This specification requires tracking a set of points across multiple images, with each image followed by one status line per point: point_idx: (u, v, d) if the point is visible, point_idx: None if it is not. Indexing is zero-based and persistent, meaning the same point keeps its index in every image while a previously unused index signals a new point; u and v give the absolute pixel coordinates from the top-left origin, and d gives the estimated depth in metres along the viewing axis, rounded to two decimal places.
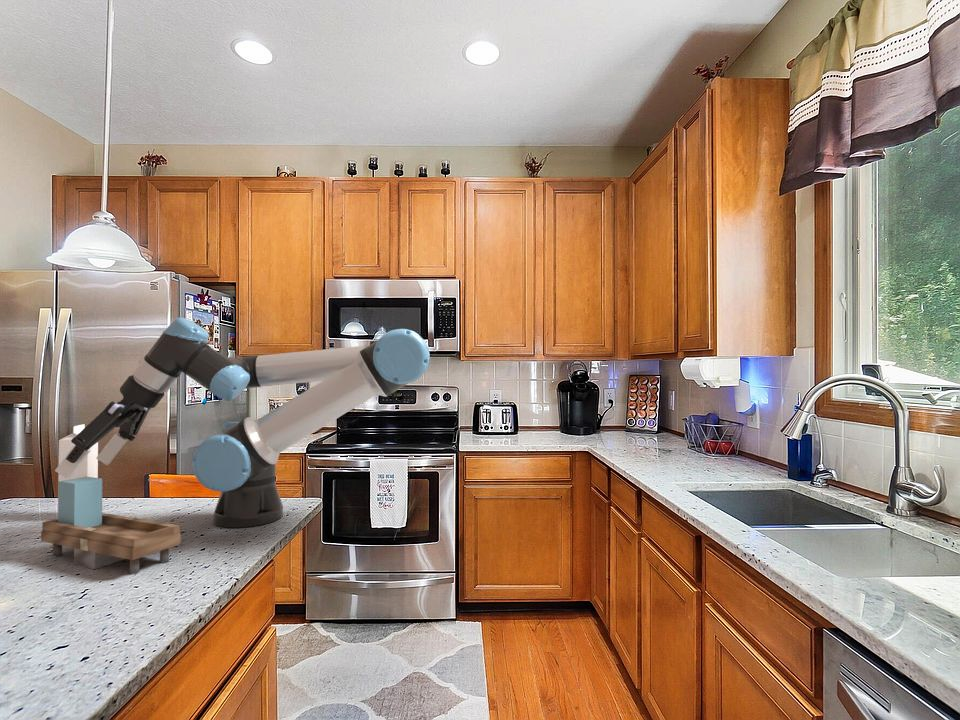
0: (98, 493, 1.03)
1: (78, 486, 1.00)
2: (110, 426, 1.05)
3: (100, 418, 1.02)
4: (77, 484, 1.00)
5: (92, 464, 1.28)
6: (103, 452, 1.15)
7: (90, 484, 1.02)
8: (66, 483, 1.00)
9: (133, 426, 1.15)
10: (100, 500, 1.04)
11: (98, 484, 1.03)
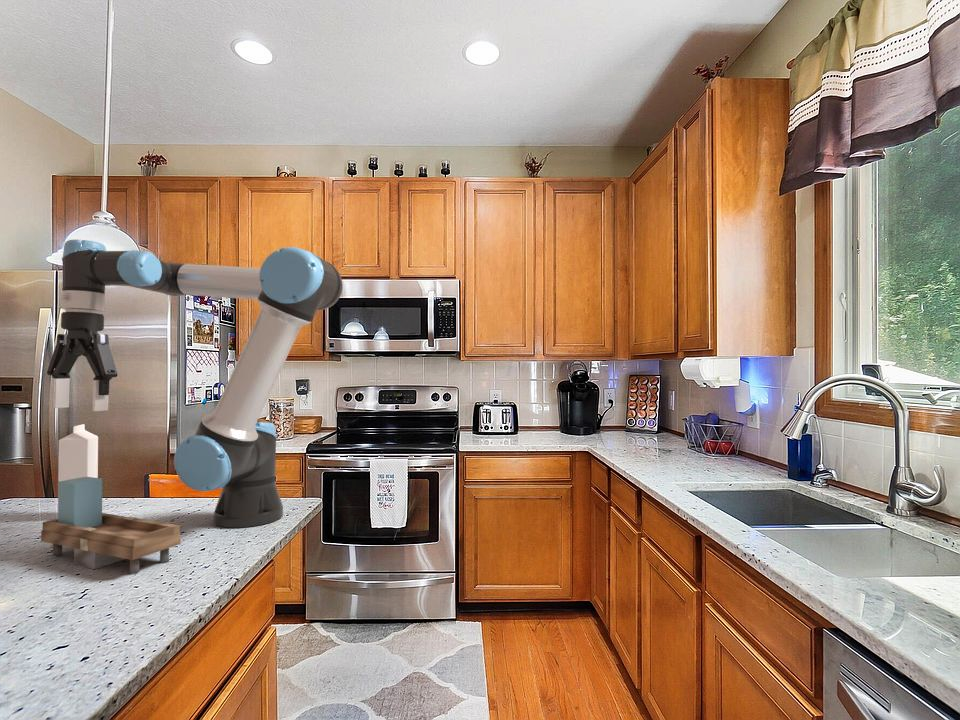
0: (98, 493, 1.03)
1: (78, 486, 1.00)
2: None
3: (102, 350, 1.12)
4: (77, 484, 1.00)
5: (92, 464, 1.28)
6: (58, 399, 1.16)
7: (90, 484, 1.02)
8: (66, 483, 1.00)
9: None
10: (100, 500, 1.04)
11: (98, 484, 1.03)
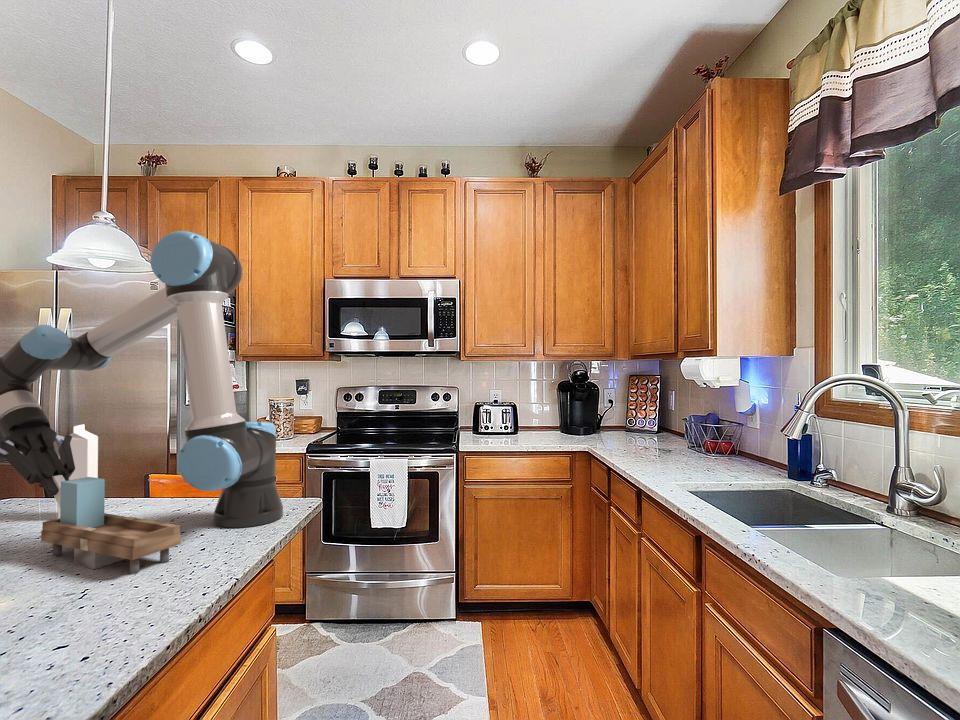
0: (100, 493, 1.03)
1: (80, 487, 1.00)
2: (33, 455, 1.05)
3: (11, 461, 1.03)
4: (79, 484, 0.99)
5: (92, 464, 1.28)
6: None
7: (93, 484, 1.02)
8: (68, 483, 1.00)
9: (55, 456, 1.08)
10: (102, 501, 1.03)
11: (100, 484, 1.03)
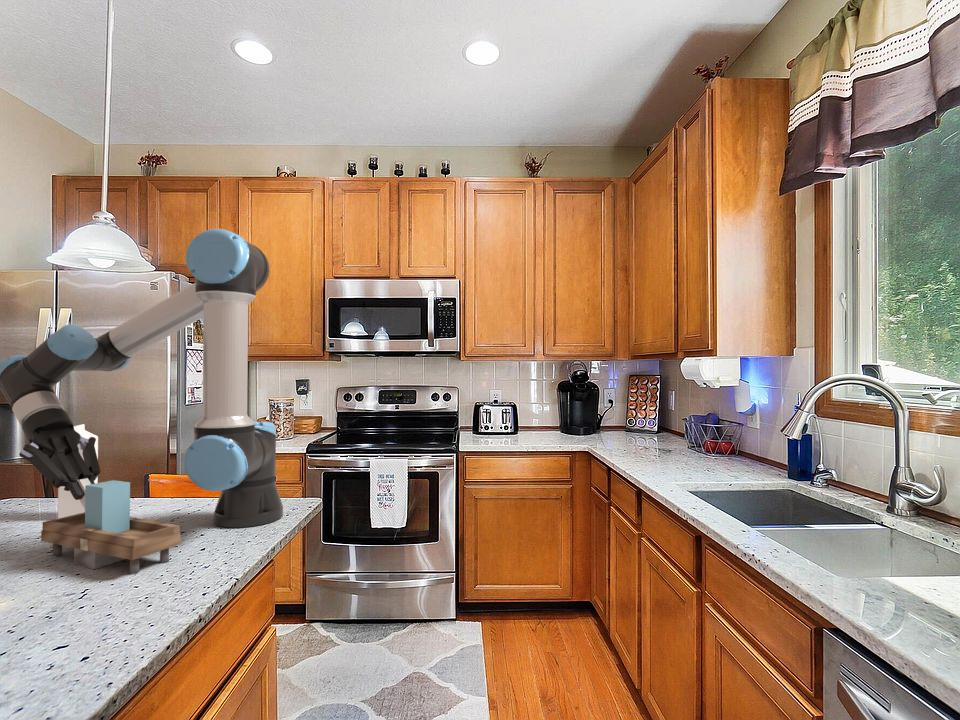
0: (126, 497, 1.00)
1: (106, 490, 0.96)
2: (58, 458, 1.02)
3: (36, 464, 1.00)
4: (105, 488, 0.96)
5: None
6: None
7: (118, 488, 0.98)
8: (93, 487, 0.97)
9: (80, 459, 1.05)
10: (128, 505, 1.00)
11: (126, 488, 1.00)
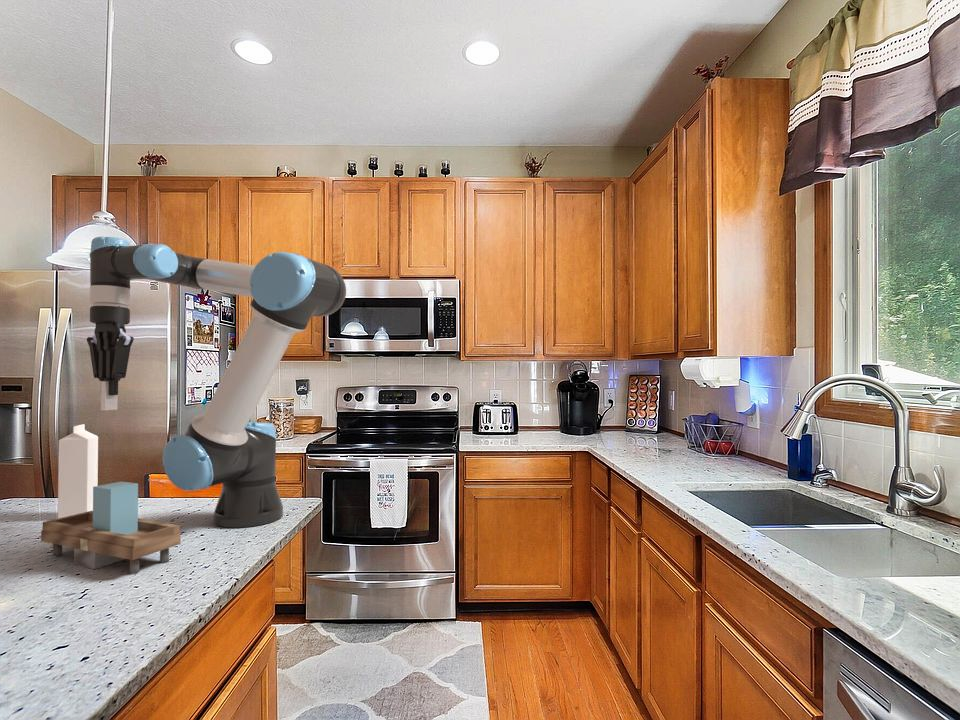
0: (134, 499, 0.99)
1: (114, 492, 0.95)
2: None
3: None
4: (113, 489, 0.95)
5: (92, 464, 1.28)
6: None
7: (126, 489, 0.97)
8: (101, 488, 0.96)
9: (108, 360, 1.18)
10: (136, 506, 0.99)
11: (134, 489, 0.99)
